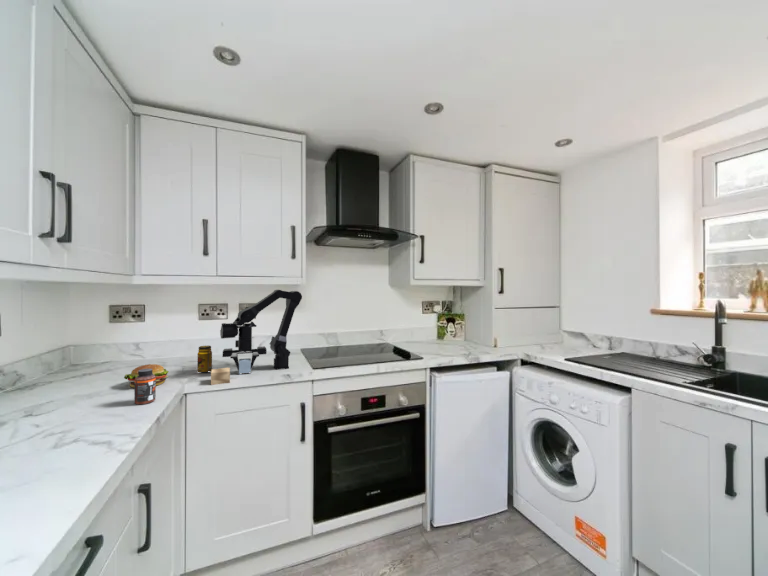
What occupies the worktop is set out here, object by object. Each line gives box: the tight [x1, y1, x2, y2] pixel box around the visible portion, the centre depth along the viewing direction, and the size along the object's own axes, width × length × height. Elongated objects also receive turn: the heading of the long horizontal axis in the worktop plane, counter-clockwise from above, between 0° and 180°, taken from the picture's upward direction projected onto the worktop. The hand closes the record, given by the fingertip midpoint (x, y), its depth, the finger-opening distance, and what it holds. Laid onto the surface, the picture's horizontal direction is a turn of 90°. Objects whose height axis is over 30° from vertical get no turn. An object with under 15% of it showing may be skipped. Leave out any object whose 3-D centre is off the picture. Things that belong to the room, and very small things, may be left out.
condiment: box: [196, 345, 213, 372], centre depth 153 cm, size 7×8×12 cm
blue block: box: [238, 357, 252, 374], centre depth 150 cm, size 5×5×6 cm
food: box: [123, 363, 169, 389], centre depth 132 cm, size 14×14×8 cm
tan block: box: [210, 367, 231, 386], centre depth 136 cm, size 7×7×5 cm
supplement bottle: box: [133, 369, 157, 406], centre depth 112 cm, size 6×6×11 cm
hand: (244, 369), depth 150 cm, fingers closed on blue block, 5 cm apart
